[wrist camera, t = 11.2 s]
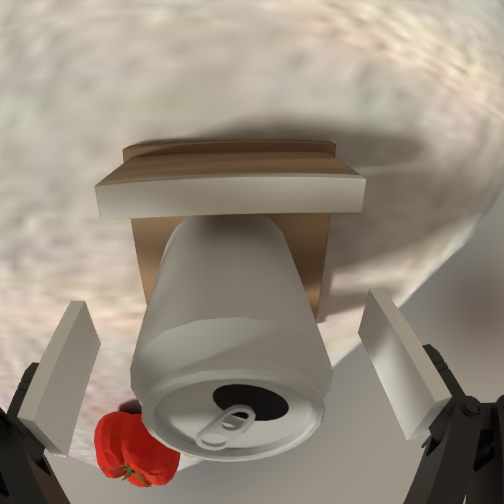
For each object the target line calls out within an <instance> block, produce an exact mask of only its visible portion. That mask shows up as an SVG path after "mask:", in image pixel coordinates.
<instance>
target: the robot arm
mask: <svg viewBox="0 0 504 504" xmlns="http://www.w3.org/2000/svg"><path fill="white" fill-rule="evenodd" d="M358 334H359V336H360V338H361V340H362V342H363V344H364V346H365V348H366V350H367V352H368V355H369V356H370V359H371V361H372V363H373V365H374V367H375V369H376V372H377V374H378V376H379V378H380V380H381V383H382V385H383V387H384V389H385V391H386V394H387V396H388V398H389V400H390V403H391V405H392V407H393V409H394V412H395V414H396V416H397V419H398V421H399V423H400V426H401V428H402V430H403V433H404V435H405V438H406V440H407V441H408V440H411V439H414V438H417V437H420V436H423V434H424V433H425V432H426V431H427V429H428V428H429V430H430V432H431V435H430V436H429V437H428V438H427V440H426V441H425V442H424V443H423V445H422V446H421V447H422V448H424V447H425V445H426V444H427V445H426V448H425V451H424V453H423V456H422V459H421V462H420V465H419V467H418V470H417V473H416V475H415V478H414V480H413V483H412V485H411V487H410V490H409V492H408V494H407V497H406V499H405V501H404V503H403V504H463V502H464V498H465V495H466V502H465V504H504V395H502V396H500V397H499V399H498V400H497V401H496V402H495V403H480V402H479V401H478V400H477V399H476V398H474V397H472V396H466V395H465V393H464V392H463V390H462V389H461V387H460V385H459V384H458V382H457V380H456V379H455V377H454V375H453V374H452V372H451V371H450V369H448V366H447V364H446V363H445V362H444V360H443V358H442V356H441V355H440V353H439V352H438V351H437V350H436V349H435V348H433V347H432V346H431V345H430V344H428V345H423V346H422V345H421V344H420V342H419V341H418V339H417V337H416V336H415V334H414V333H413V331H412V329H411V328H410V326H409V325H408V323H407V322H406V320H405V319H404V317H403V316H402V314H401V313H400V311H399V310H398V308H397V307H396V305H395V304H394V302H393V301H392V299H391V298H390V296H389V295H388V294H387V292H386V291H385V289H384V288H378V289H370V290H369V294H368V298H367V302H366V305H365V309H364V313H363V317H362V320H361V324H360V328H359V331H358ZM100 345H101V343H100V341H99V338H98V335H97V333H96V330H95V328H94V325H93V322H92V319H91V317H90V314H89V311H88V308H87V305H86V302H85V301H71V302H70V304H69V306H68V307H67V309H66V311H65V313H64V315H63V317H62V319H61V321H60V322H59V324H58V326H57V328H56V330H55V332H54V334H53V336H52V338H51V340H50V342H49V344H48V346H47V348H46V351H45V353H44V355H43V357H42V359H41V361H40V363H34V362H33V363H32V364H31V365H30V366H29V367H28V368H27V369H26V370H25V372H24V374H23V377H22V379H21V382H20V383H19V385H18V390H16V392H15V395H14V397H13V399H12V402H11V404H10V406H9V409H8V411H7V414H6V413H5V412H4V411H3V410H2V409H1V408H0V504H70V502H69V500H68V498H67V497H66V495H65V493H64V491H63V490H62V488H61V486H60V484H59V482H58V480H57V478H56V476H55V475H54V472H53V470H52V469H51V466H50V464H49V462H48V460H47V458H46V457H45V455H44V454H43V453H44V449H45V448H46V449H47V450H48V451H49V452H50V453H51V454H53V455H58V456H62V457H66V458H67V457H68V453H69V449H70V445H71V441H72V437H73V433H74V429H75V425H76V421H77V418H78V414H79V411H80V407H81V404H82V400H83V397H84V394H85V390H86V387H87V384H88V381H89V378H90V374H91V371H92V368H93V365H94V362H95V359H96V356H97V353H98V350H99V348H100Z"/></svg>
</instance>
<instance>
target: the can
mask: <svg viewBox="0 0 504 504" xmlns="http://www.w3.org/2000/svg"><path fill="white" fill-rule="evenodd" d="M130 372H131V388H132V390H133V392H134V394H135V396H136V397H137V399H138V401H139V403H140V405H141V408H142V422H143V423H144V425H145V426H146V428H147V430H148V431H149V433H150V434H151V435H152V436H153V437H155V438H156V439H157V440H158V441H160V442H161V443H162V444H164V445H165V446H167V447H168V448H171V449H173V450H175V451H178V452H180V453H182V454H185V455H188V456H192V457H196V458H201V459H205V460H214V461H230V462H232V461H246V460H255V459H259V458H264V457H268V456H273V455H276V454H279V453H281V452H284V451H286V450H289V449H291V448H293V447H295V446H297V445H298V444H300V443H301V442H303V441H304V440H306V439H307V438H309V437H310V436H311V435H312V434H313V433H314V432H315V430H316V429H317V428H318V426H319V425H320V424H321V423H322V421H323V417H324V412H325V404H324V402H323V399H324V398H325V396H326V395H327V393H328V392H329V390H330V386H331V381H332V376H333V369H332V366H331V363H330V360H329V357H328V354H327V351H326V349H325V346H324V343H323V340H322V337H321V334H320V332H319V329H318V326H317V323H316V320H315V317H314V315H313V312H312V309H311V306H310V304H309V301H308V298H307V295H306V293H305V290H304V287H303V285H302V282H301V279H300V276H299V274H298V271H297V268H296V266H295V263H294V260H293V258H292V255H291V252H290V250H289V247H288V245H287V242H286V240H285V237H284V234H283V232H282V231H281V230H280V229H279V227H278V226H277V225H276V224H275V223H274V222H273V221H272V220H271V218H269V217H268V216H266V215H264V214H262V213H257V214H220V215H193V216H188V217H186V218H185V219H184V220H183V221H182V222H181V223H180V224H179V225H178V226H176V228H175V230H174V231H173V233H172V235H171V237H170V239H169V241H168V242H167V245H166V248H165V251H164V254H163V257H162V260H161V263H160V266H159V269H158V273H157V276H156V279H155V282H154V285H153V289H152V292H151V295H150V299H149V302H148V305H147V309H146V312H145V316H144V319H143V323H142V326H141V330H140V333H139V337H138V341H137V344H136V348H135V352H134V356H133V360H132V364H131V368H130Z"/></svg>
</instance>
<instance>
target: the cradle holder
mask: <svg viewBox="0 0 504 504" xmlns="http://www.w3.org/2000/svg"><path fill="white" fill-rule="evenodd" d="M335 149H336V144H334V143H332V142H328V141H306V140H213V141H192V142H175V143H162V144H150V145H139V146H129V147H126V148H125V149H123V160H124V163H123V164H122V165H121V166H120V167H118V168H117V169H116V170H114V171H113V172H112V173H110V174H109V175H108V176H107V177H105V178H104V179H103V180H102V181H100V182H99V183H98V184H97V185H96V186H95V192H96V198H97V204H98V210H99V215H100V220H115V219H131V223H132V229H133V235H134V241H135V247H136V253H137V258H138V264H139V269H140V274H141V279H142V284H143V289H144V293H145V298H146V303H147V305H148V302H149V299H150V295H151V292H152V289H153V285H154V282H155V279H156V276H157V273H158V269H159V266H160V263H161V260H162V257H163V254H164V251H165V248H166V245H167V242H168V241H169V239H170V237H171V235H172V233H173V231H174V230H175V228H176V226H178V225H179V224H180V223H181V222H182V221H183V220H184V219H185V218H186V217H188V216H193V215H220V214H257V213H262V214H264V215H266V216H268V217H269V218H271V220H272V221H273V222H274V223H275V224H276V225H277V226H278V227H279V229H280V230H281V231H282V232H283V234H284V237H285V240H286V242H287V245H288V247H289V250H290V252H291V255H292V258H293V260H294V263H295V266H296V268H297V271H298V274H299V276H300V279H301V282H302V285H303V287H304V290H305V293H306V295H307V298H308V301H309V304H310V306H311V309H312V312H313V315H314V317H315V320H316V315H317V309H318V302H319V296H320V289H321V282H322V275H323V267H324V260H325V252H326V244H327V235H328V226H329V217H330V213H362V209H363V201H364V193H365V185H366V178H364V177H363V176H361V175H360V174H359V173H357V172H356V171H354V170H353V169H351V168H350V167H348V166H347V165H345V164H344V163H342V162H341V161H339V160H338V159H336V158H335Z"/></svg>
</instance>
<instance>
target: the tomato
mask: <svg viewBox="0 0 504 504" xmlns="http://www.w3.org/2000/svg"><path fill="white" fill-rule="evenodd" d="M94 443H95V449H96V456H97V463H98V465H99V467H100V468H101V470H102V471H103V473H104V474H105V475H106V476H107V477H110V478H119V477H121V476H124V478H123V479H122V480H125V479H126V478H127V479H128V481H129V482H130V483H131V484H134V485H136V486H139V487H149V486H150V485H152V484H154V485H165V484H166V483H167V482H169V481H170V480H171V479H172V478H173V476H174V474H175V472H176V471H177V468H178V465H179V460H180V452H178V451H175V450H173V449H171V448H168V447H167V446H165V445H164V444H162V443H161V442H160V441H158V440H157V439H156V438H155V437H153V436H152V435H151V434H150V433H149V431H148V430H147V428H146V426H145V425H144V423H143V422H142V414H130V413H127V412H121V411H120V412H112V413H109V414H107V415H105V416H103V418H102V419H101V420H100V421H99V422H98V424H97V427H96V429H95V436H94Z"/></svg>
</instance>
